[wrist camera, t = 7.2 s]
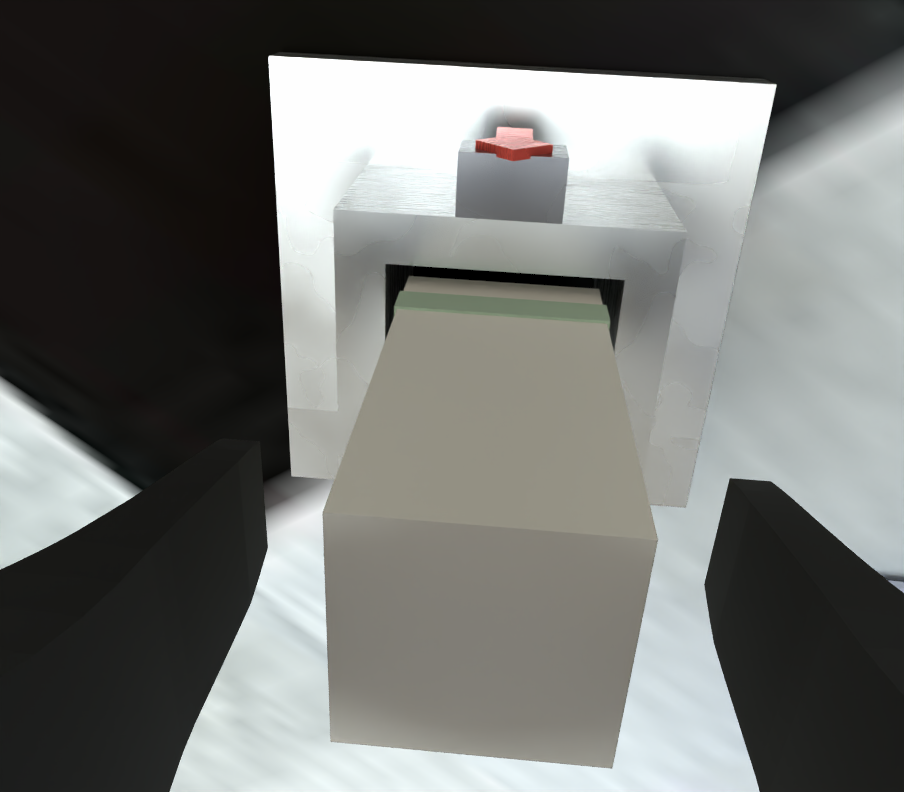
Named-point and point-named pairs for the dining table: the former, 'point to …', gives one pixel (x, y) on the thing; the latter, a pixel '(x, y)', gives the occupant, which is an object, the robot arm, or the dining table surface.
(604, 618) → the rectangular block
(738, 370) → the dining table surface
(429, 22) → the dining table surface
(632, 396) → the stand
